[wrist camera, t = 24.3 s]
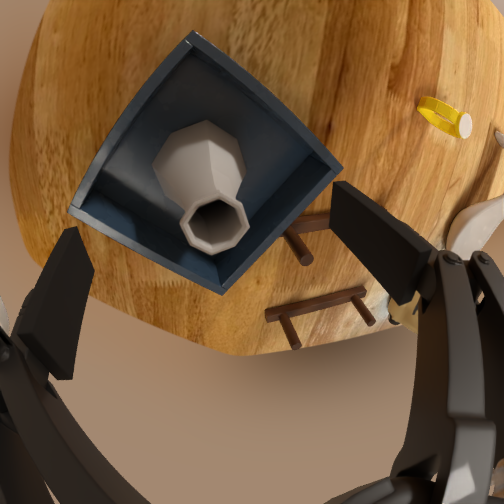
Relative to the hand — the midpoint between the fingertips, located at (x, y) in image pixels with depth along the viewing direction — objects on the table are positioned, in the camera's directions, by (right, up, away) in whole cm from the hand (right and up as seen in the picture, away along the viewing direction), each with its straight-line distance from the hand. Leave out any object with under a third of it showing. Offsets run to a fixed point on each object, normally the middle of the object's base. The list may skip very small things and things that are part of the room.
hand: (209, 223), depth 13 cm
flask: (-2, +6, +8) cm, 10 cm away
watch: (+21, +14, +10) cm, 27 cm away
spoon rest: (+37, +8, +19) cm, 42 cm away
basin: (-2, +6, +8) cm, 10 cm away
